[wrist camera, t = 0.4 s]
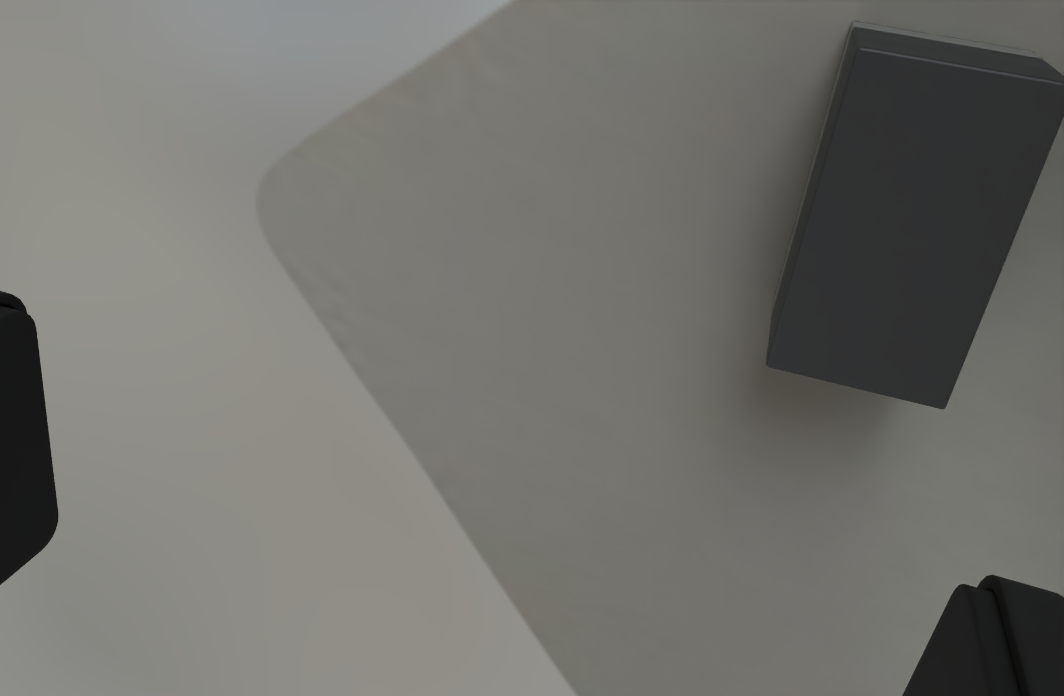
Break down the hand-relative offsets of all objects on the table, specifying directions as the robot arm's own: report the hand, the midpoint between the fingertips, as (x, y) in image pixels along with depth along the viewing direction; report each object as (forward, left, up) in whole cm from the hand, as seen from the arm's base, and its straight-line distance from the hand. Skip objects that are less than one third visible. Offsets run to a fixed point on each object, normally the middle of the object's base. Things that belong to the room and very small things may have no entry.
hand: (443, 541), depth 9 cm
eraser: (+2, +6, -23) cm, 23 cm away
